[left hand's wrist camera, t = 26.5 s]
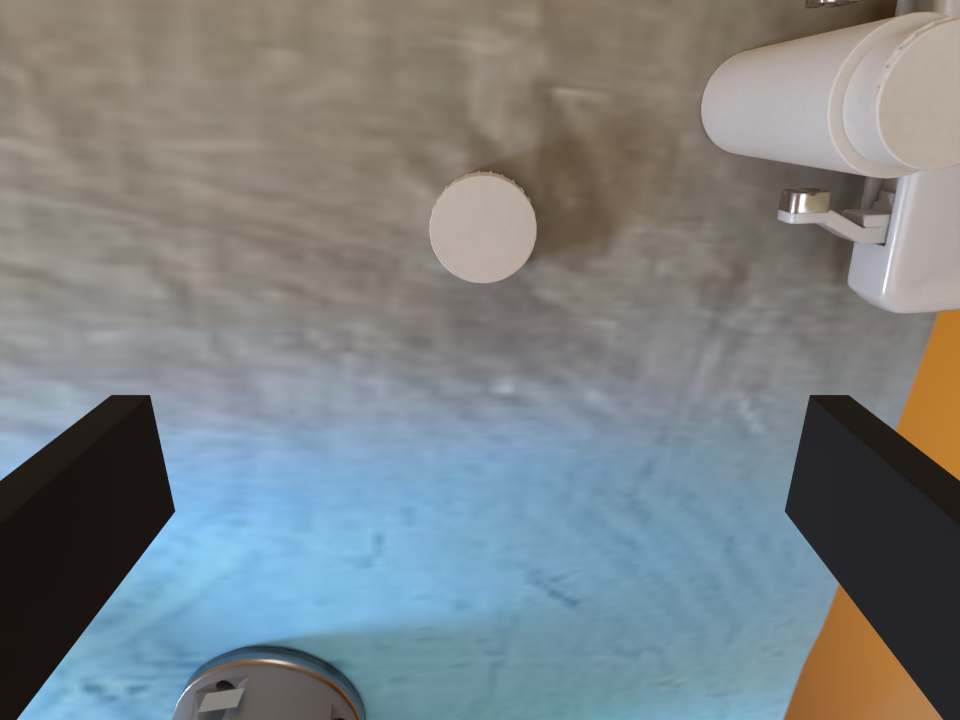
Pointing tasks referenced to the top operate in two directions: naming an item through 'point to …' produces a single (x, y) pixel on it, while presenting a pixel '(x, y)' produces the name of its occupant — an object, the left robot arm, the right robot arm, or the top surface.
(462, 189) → the lid
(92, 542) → the left robot arm
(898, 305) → the right robot arm
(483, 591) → the top surface
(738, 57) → the jar
